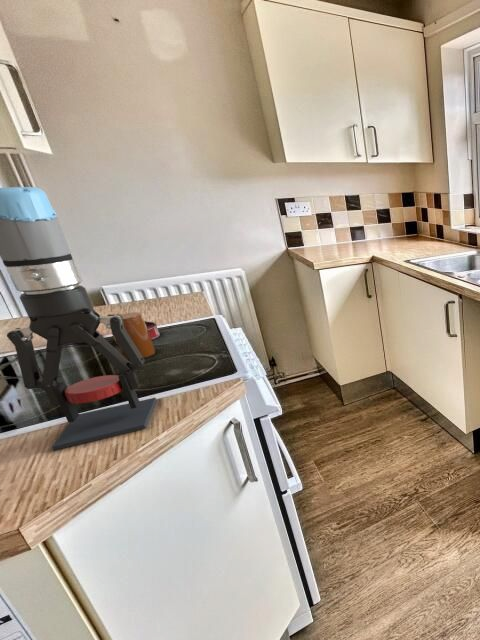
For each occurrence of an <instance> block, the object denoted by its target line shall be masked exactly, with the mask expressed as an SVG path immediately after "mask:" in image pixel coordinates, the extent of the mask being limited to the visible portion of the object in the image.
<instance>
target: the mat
mask: <svg viewBox="0 0 480 640" xmlns="http://www.w3.org/2000/svg"><path fill="white" fill-rule="evenodd" d="M157 401H158V399H157V397H151V398H147V399H142V400H139V404H138V406H137V408H133V409H131V407H130V404H129V402H128V403H124V404H120V405H115V406H110V407H106V408H105V407H104V408H100V409H97V410H92V411H87V412H82V413H79V416H78V417H77V419H76V420H75V421H74V422H70V423H68V424H67V425H66V427H65V429H63V431H62V432H61V434H60V435H59V437H58V438H57V439H56V440H55V441H54V443H53V445H52V446H51V448H52V450H53V451H58V450H63V449H67V448H71V447H74V446H78V445H82V444H87V443H91V442H95V441H99V440H103V439H107V438H112V437H115V436H121V435H125V434H127V433H132V432H136V431H141V430H144V429H147V427H148V424H149V422H150V419H151V417H152V414H153V412H154V409H155V406H156V404H157Z"/></svg>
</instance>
